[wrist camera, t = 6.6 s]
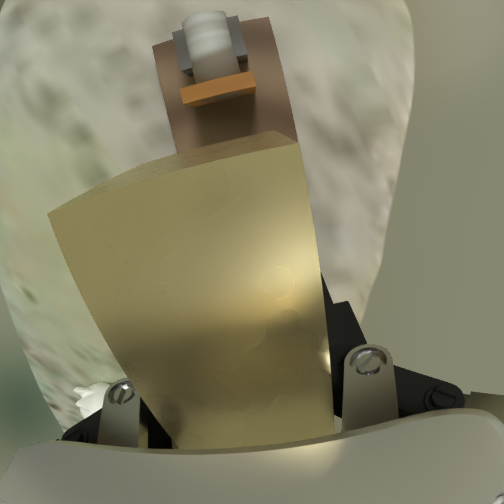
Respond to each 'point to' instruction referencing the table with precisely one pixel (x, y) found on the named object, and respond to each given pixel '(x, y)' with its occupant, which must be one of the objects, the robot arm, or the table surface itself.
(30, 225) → the table surface
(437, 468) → the robot arm
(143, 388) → the tan rectangular block
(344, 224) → the table surface
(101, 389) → the cat figurine
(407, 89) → the table surface
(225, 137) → the shaft base
